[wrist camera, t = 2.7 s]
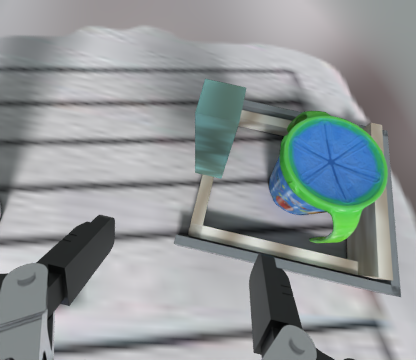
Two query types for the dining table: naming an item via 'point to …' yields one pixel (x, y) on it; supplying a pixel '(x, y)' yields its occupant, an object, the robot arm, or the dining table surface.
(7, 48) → the dining table surface
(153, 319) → the dining table surface
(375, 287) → the rectangular frame
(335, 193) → the snack cup
